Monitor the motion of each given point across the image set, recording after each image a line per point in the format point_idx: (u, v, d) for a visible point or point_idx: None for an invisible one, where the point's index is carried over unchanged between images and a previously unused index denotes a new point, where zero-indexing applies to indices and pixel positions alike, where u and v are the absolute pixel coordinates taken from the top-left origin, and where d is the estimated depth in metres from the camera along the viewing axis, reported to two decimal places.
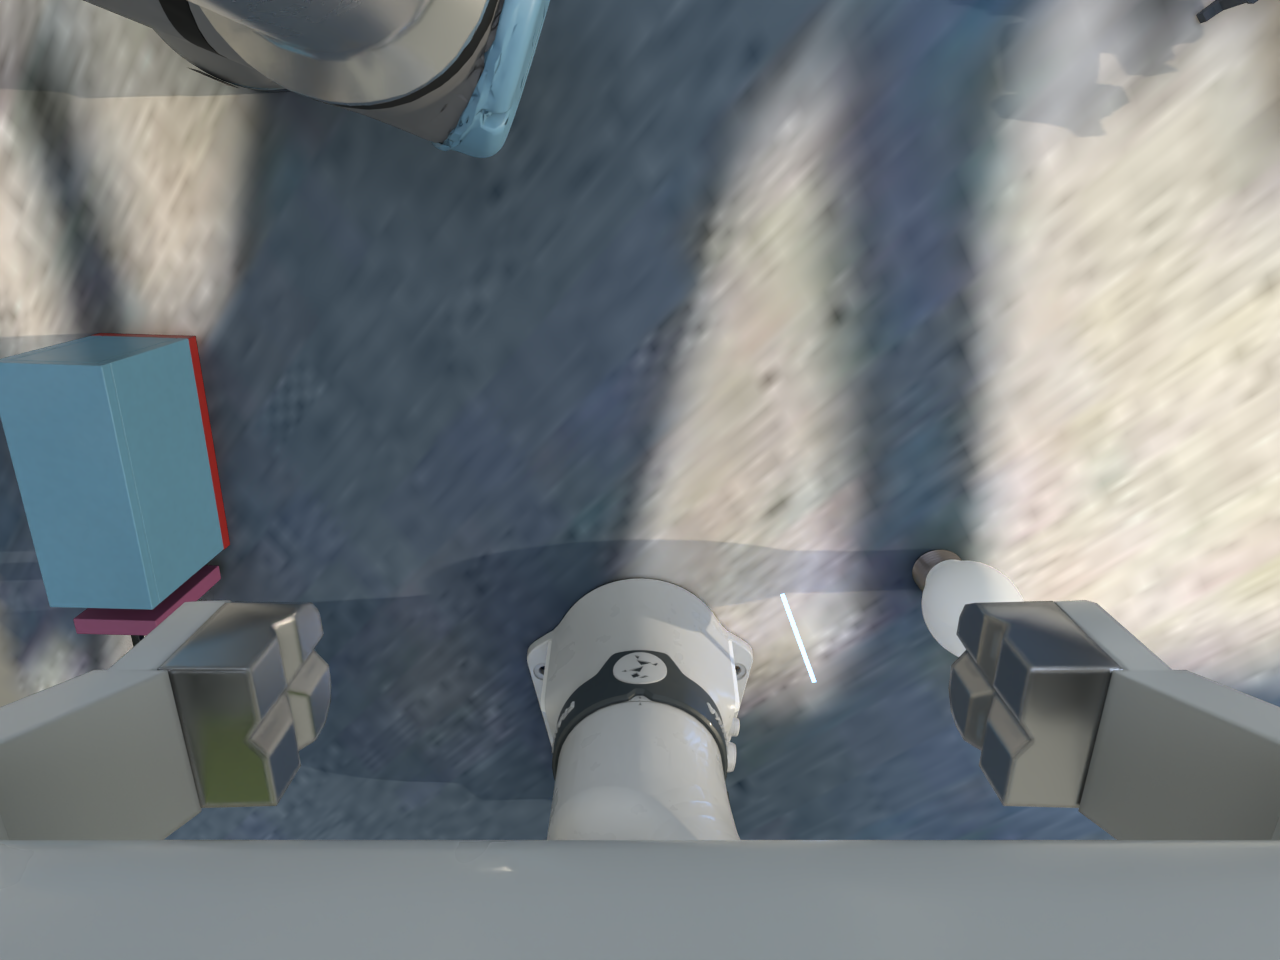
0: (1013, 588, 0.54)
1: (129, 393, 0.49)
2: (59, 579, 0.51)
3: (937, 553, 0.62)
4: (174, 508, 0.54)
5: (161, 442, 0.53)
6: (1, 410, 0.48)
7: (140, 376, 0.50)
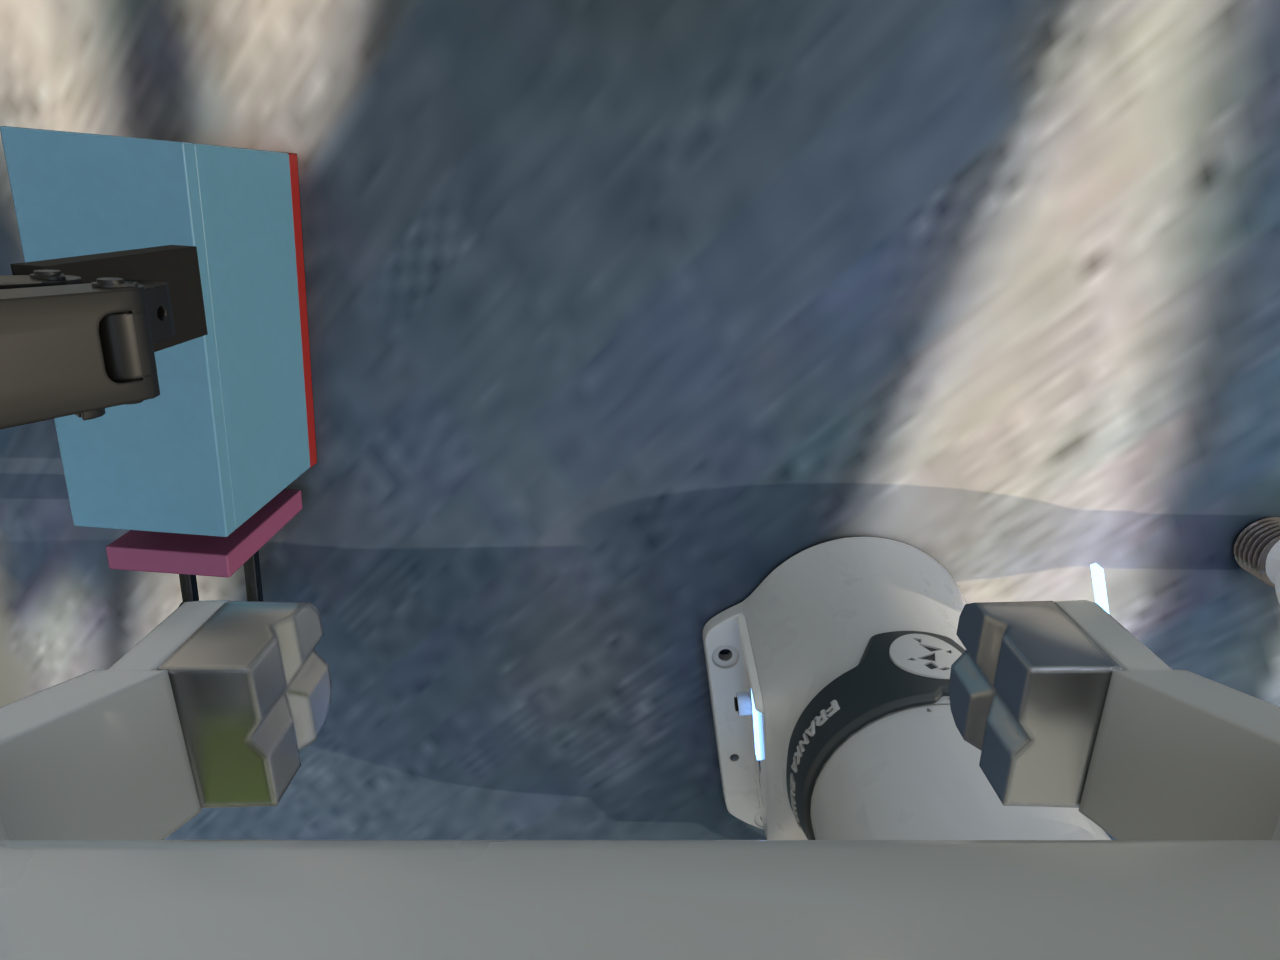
0: None
1: (215, 202, 0.32)
2: (91, 484, 0.34)
3: (1276, 521, 0.46)
4: (260, 393, 0.38)
5: (250, 292, 0.36)
6: (19, 208, 0.30)
7: (230, 182, 0.33)
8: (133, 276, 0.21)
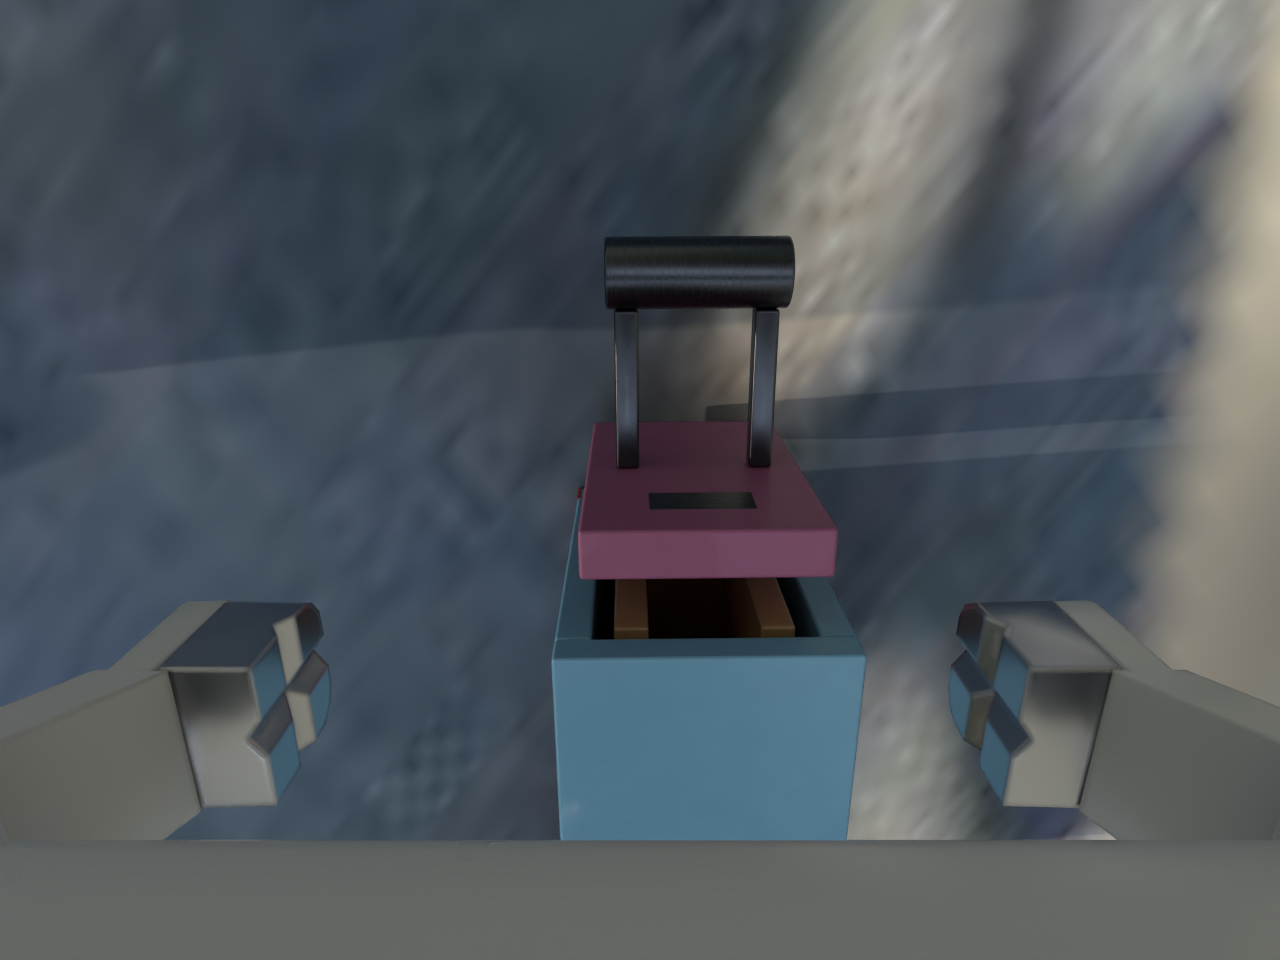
0: None
1: None
2: (808, 737, 0.18)
3: None
4: None
5: None
6: None
7: None
8: None
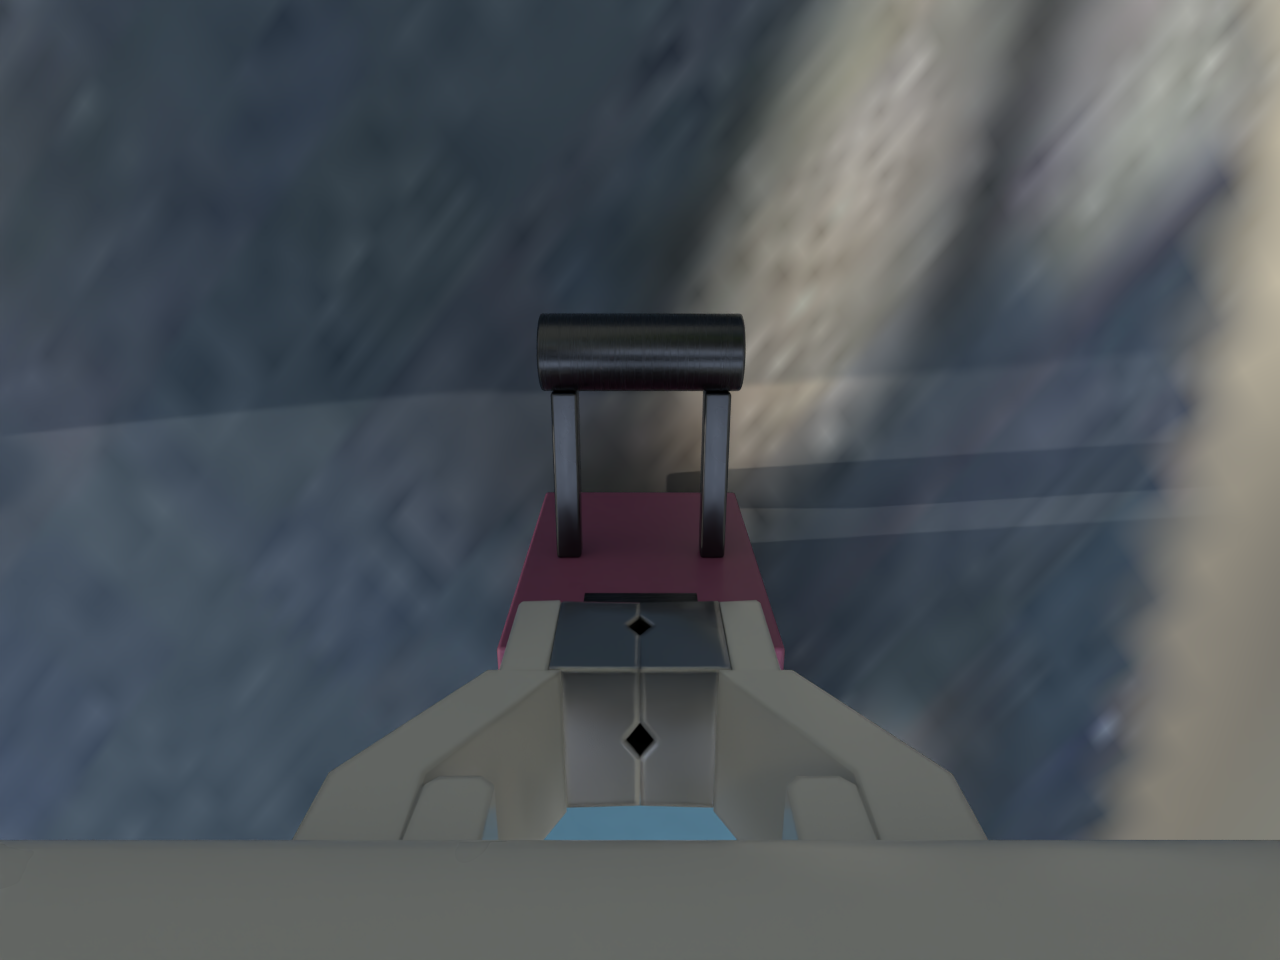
0: None
1: None
2: None
3: None
4: None
5: None
6: None
7: None
8: None
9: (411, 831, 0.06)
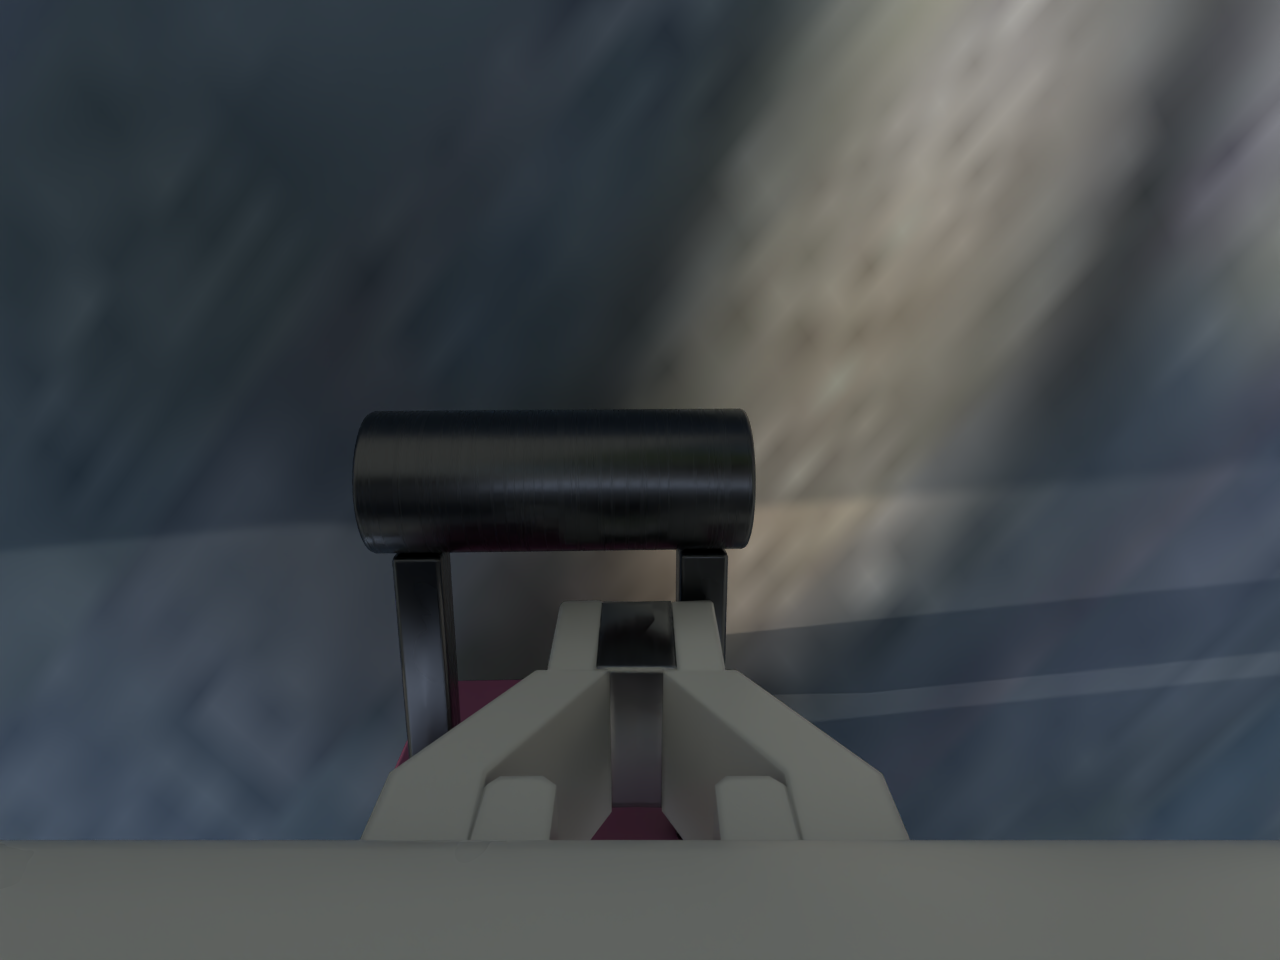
0: None
1: None
2: None
3: None
4: None
5: None
6: None
7: None
8: None
9: (478, 831, 0.06)
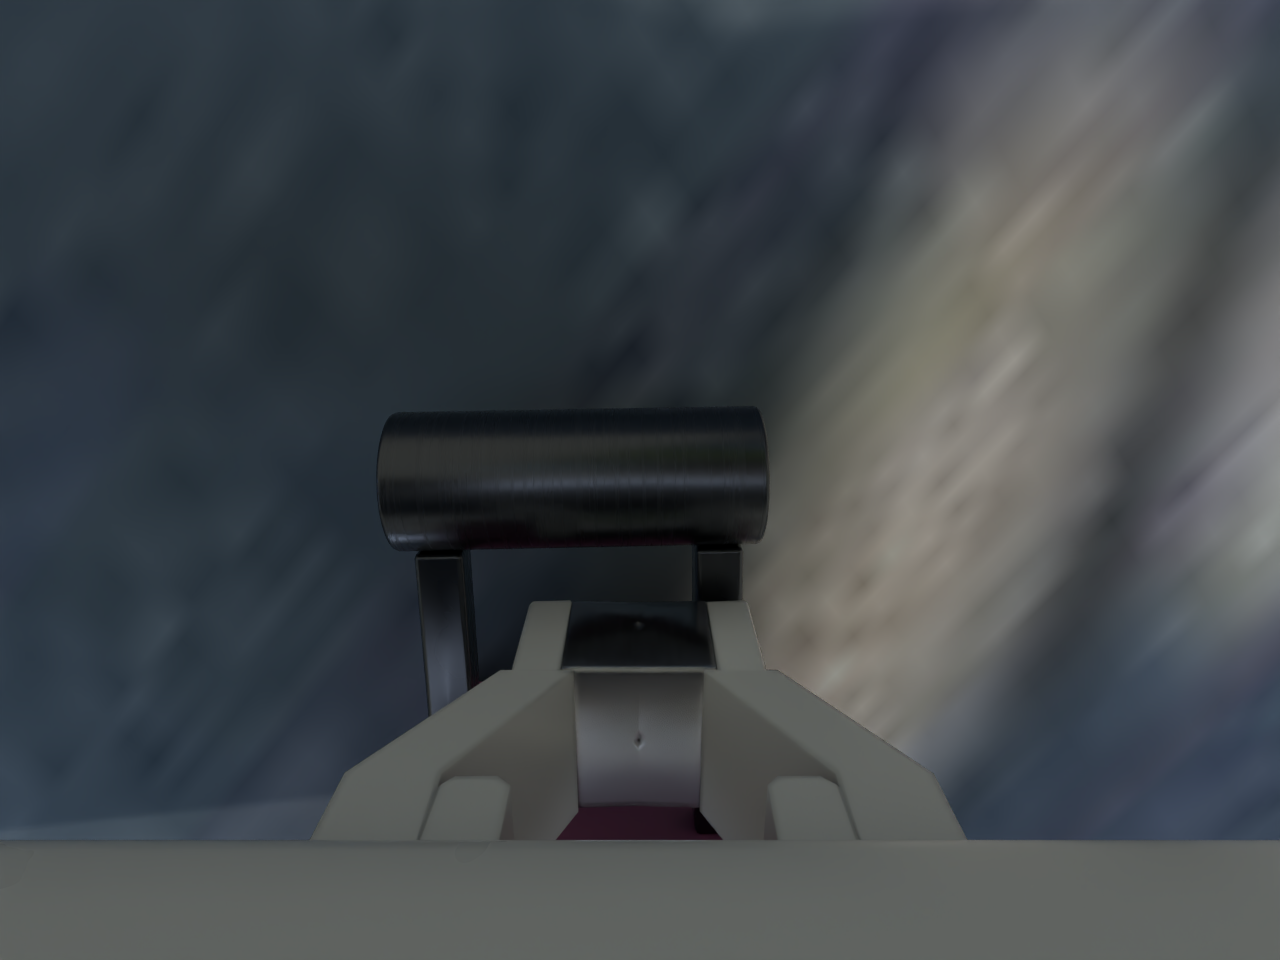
0: None
1: None
2: None
3: None
4: None
5: None
6: None
7: None
8: None
9: (428, 831, 0.06)
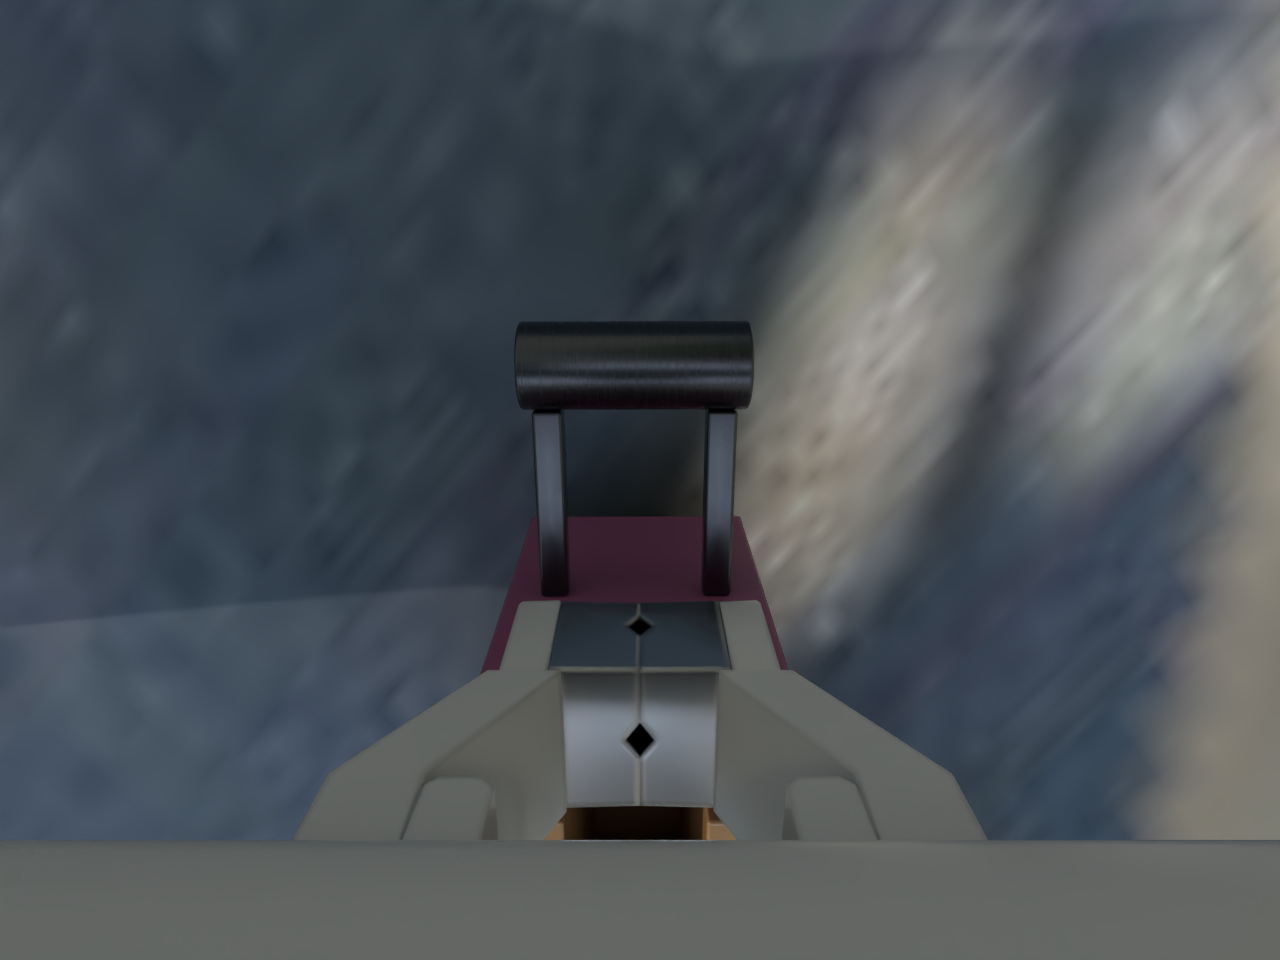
0: None
1: None
2: None
3: None
4: None
5: None
6: None
7: None
8: None
9: (411, 831, 0.06)
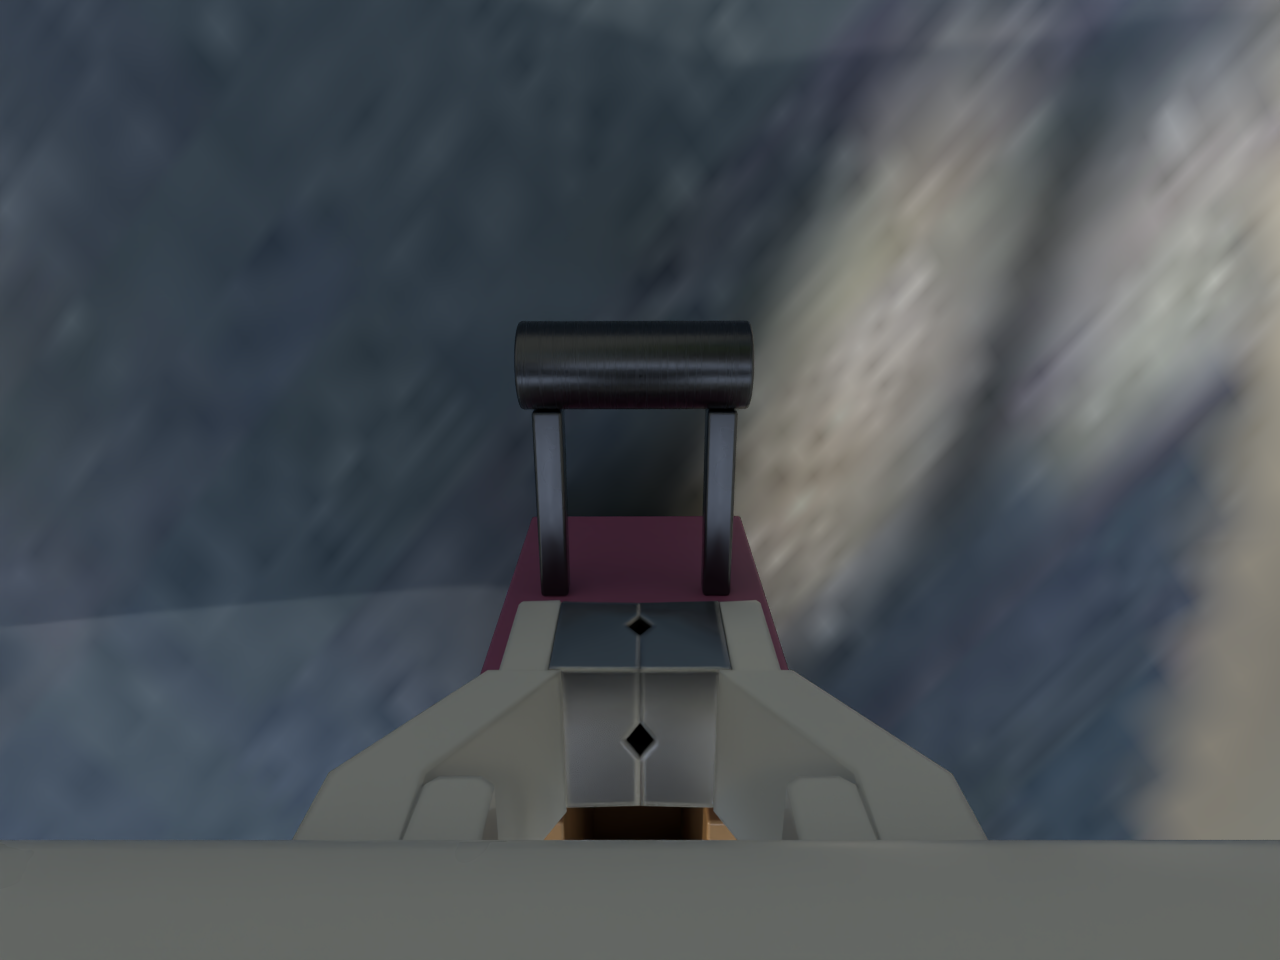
0: None
1: None
2: None
3: None
4: None
5: None
6: None
7: None
8: None
9: (410, 831, 0.06)
